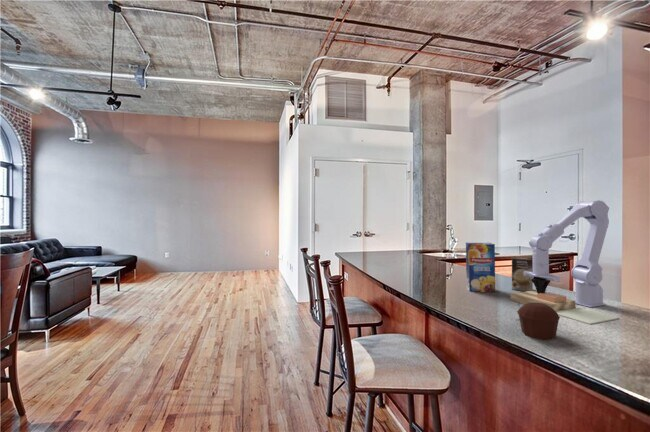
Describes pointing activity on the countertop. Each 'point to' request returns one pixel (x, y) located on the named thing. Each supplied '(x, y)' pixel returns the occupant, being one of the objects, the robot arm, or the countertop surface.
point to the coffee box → (522, 274)
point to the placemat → (586, 315)
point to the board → (532, 297)
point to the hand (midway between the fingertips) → (541, 295)
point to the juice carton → (480, 267)
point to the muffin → (538, 321)
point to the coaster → (551, 297)
